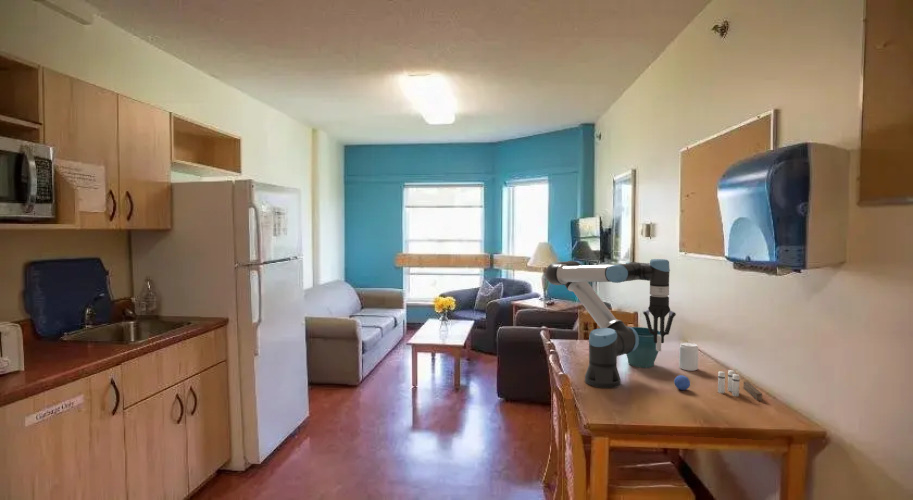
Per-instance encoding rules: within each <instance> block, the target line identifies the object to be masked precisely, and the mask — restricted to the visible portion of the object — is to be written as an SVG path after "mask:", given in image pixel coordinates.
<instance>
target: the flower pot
mask: <svg viewBox="0 0 913 500" xmlns="http://www.w3.org/2000/svg"><path fill="white" fill-rule="evenodd" d="M630 327H631V328H633V329H634V330H635V331H636V332H637V334H638V337H639V344H638V347H637V348H636V349H635V350H634V351H632V352H631V353H628V354H625V355H626V357H627V362H628V363H627V364H628V365H630V366H632V367H635V368H642V369H648V368H653V367H654V366H655V361H656V359H657V357H658V354H659V352H660V351H657V350H656V343H654V341H653V336H654V335H653V334H650V333H649V330H648V327H643V326H641V327H640V326H630ZM652 331H653V328H652ZM657 335H660V330H658V333H657Z"/></svg>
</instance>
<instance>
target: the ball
mask: <svg viewBox="0 0 913 500" xmlns="http://www.w3.org/2000/svg"><path fill="white" fill-rule="evenodd" d="M673 380H674V381H673V382H674V386H675V387H676V388H677V389H678V390H679V391H685V390H687V389H689V388H690V386H691V381H690V379H689V378H688V377H687V376H685V375H682V374H681V375H676V377H675V378H674V379H673Z"/></svg>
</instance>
